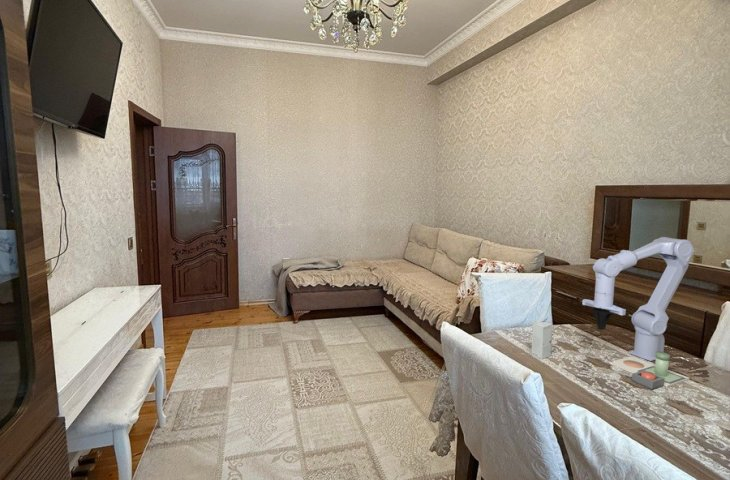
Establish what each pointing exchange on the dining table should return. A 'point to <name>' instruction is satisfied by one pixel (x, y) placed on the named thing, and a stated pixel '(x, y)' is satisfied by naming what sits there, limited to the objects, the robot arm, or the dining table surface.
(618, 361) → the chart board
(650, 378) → the button
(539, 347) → the skincare box
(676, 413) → the dining table surface
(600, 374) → the dining table surface
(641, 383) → the button housing
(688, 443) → the dining table surface
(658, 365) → the green cup
